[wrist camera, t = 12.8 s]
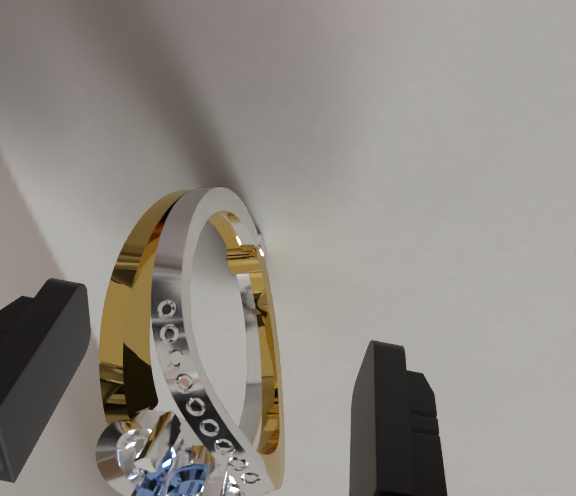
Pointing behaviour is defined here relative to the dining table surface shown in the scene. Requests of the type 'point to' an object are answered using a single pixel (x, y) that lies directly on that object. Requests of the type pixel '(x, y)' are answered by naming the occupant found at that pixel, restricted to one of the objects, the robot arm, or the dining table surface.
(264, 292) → the ring
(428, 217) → the dining table surface
